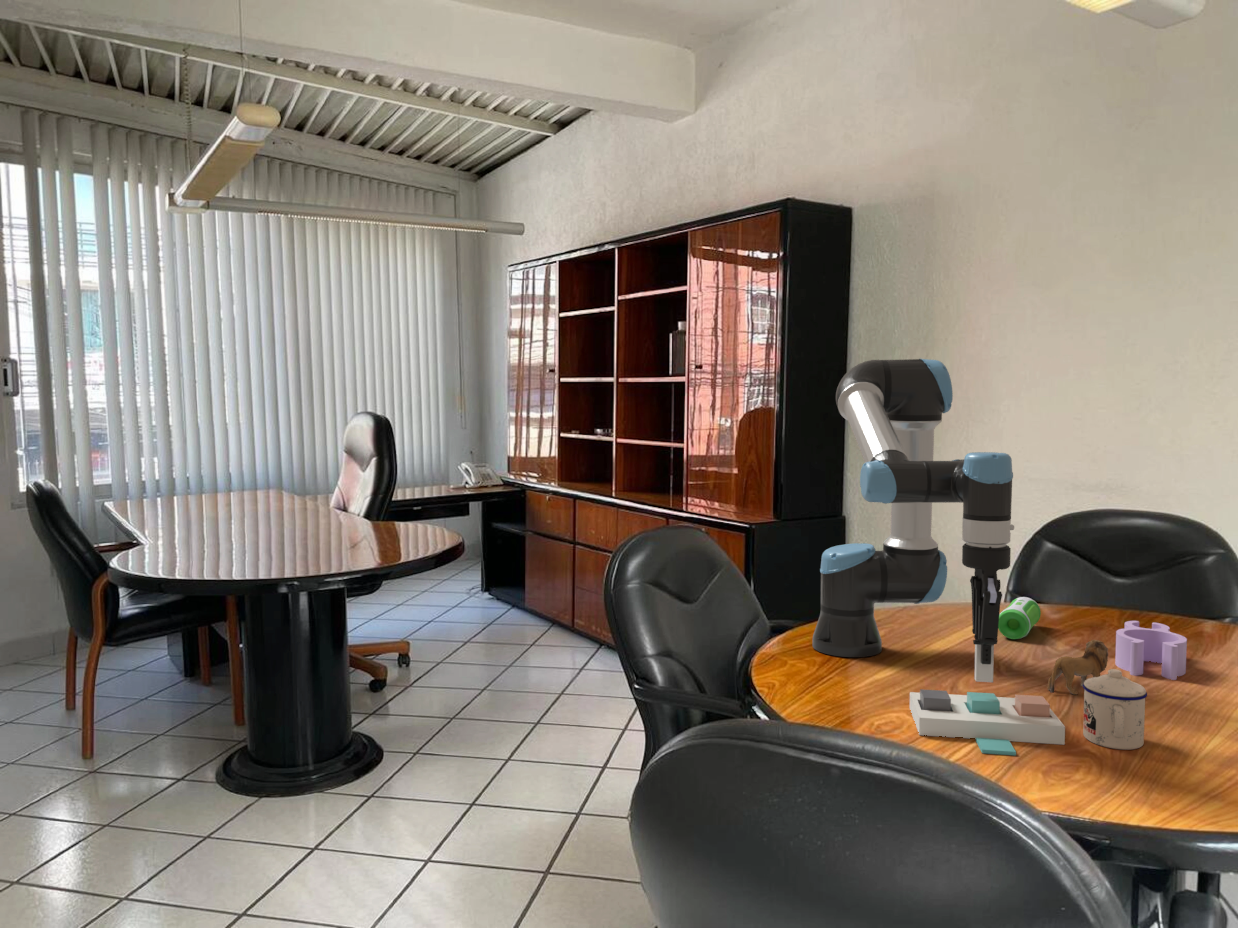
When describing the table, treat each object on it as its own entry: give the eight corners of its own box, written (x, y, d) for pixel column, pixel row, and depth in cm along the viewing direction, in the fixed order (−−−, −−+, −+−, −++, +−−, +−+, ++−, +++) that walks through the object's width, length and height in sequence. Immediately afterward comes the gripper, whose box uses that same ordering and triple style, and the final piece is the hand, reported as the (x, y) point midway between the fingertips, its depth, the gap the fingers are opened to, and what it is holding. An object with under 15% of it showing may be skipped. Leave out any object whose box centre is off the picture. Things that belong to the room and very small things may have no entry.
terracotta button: (1014, 712, 150) (1015, 694, 149) (1042, 714, 149) (1042, 695, 148) (1021, 721, 145) (1021, 703, 145) (1049, 723, 144) (1049, 704, 144)
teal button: (966, 709, 151) (967, 691, 151) (993, 711, 150) (994, 693, 150) (971, 718, 147) (972, 700, 147) (999, 720, 146) (999, 701, 146)
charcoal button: (919, 706, 153) (920, 689, 153) (946, 708, 152) (946, 690, 152) (923, 715, 148) (923, 697, 148) (950, 717, 148) (950, 699, 147)
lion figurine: (1089, 680, 172) (1090, 635, 172) (1115, 687, 168) (1116, 642, 167) (1039, 691, 166) (1040, 645, 165) (1064, 700, 161) (1065, 652, 160)
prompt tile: (975, 740, 142) (975, 737, 142) (1008, 743, 141) (1008, 739, 141) (982, 753, 137) (982, 749, 137) (1016, 755, 136) (1016, 751, 136)
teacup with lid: (1079, 726, 148) (1080, 659, 147) (1140, 734, 144) (1143, 665, 143) (1085, 752, 137) (1087, 680, 136) (1152, 761, 133) (1155, 687, 132)
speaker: (1009, 622, 217) (1010, 593, 217) (1041, 627, 213) (1042, 596, 212) (994, 639, 203) (995, 607, 202) (1028, 643, 199) (1029, 611, 198)
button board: (909, 708, 157) (909, 691, 157) (1042, 715, 153) (1042, 699, 153) (919, 734, 145) (919, 717, 144) (1064, 744, 140) (1065, 726, 140)
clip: (1111, 649, 194) (1112, 618, 193) (1177, 655, 188) (1178, 624, 188) (1117, 674, 176) (1118, 640, 176) (1190, 682, 171) (1191, 648, 170)
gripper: (1019, 550, 139) (1016, 694, 141) (1001, 538, 152) (998, 670, 154) (970, 549, 141) (967, 691, 142) (956, 537, 154) (953, 667, 155)
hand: (983, 680), depth 148 cm, fingers closed
